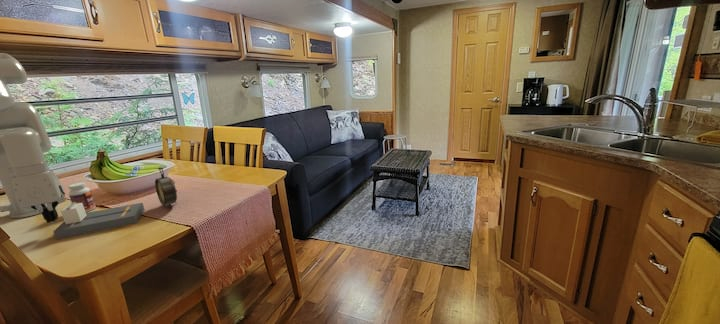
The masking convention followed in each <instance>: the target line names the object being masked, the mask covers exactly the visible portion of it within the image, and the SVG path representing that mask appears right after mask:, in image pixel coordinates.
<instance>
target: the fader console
mask: <svg viewBox="0 0 720 324" xmlns="http://www.w3.org/2000/svg"><path fill="white" fill-rule="evenodd" d="M144 212H145V206H144V203H143V202H139V203H134V204H133V203H132V204H129V205H128V204H126V205H123V206H122V205H121V206H117V207H111V208H107V209H106V208H105V209H100V210H95V211H88V212H86V215H87V216H86V217H85V218H84V219H83V220H82V221H81V222H76V223H71V224H66V223H65V221H63V222H62V223H61V224H59V226H58V227H56V229H54V230H53V231H52V232H53V234H54V236H55V239H56V240H61V239H66V238H70V237H76V236H81V235H86V234H90V233H95V232H101V231H105V230H110V229H115V228H120V227H124V226H125V227H126V226H129V225H130V226H131V225H136V224H138V222H139V220H140V218H141V217H142V215H143V213H144Z"/></svg>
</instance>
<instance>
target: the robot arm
mask: <svg viewBox="0 0 720 324" xmlns="http://www.w3.org/2000/svg"><path fill="white" fill-rule="evenodd" d="M27 75H28V74H27V72H26V70H25V68H24V66H23V65H22V64H21V62H20V61H19V60H17V59H16V58H15V57H13V56H12V55H10V53H6V52H0V183H1V186H2V188H3V191H4V193H5V195H6V197H7V199H8V202H9V204H8V205H7V204H5V205H0V213H6V212H9V214H8V216H9V218H11V219H22V218H27V217H31V216H35V215H38V214H41V215H42V217H43V220H45V221H46V224H49V223H53V222H55V221H56V220H58V218H59V213H58V211H57V209H56V208H57V207H58V205H60V204H62V203H65V202H67V200H68V198H67V197H66V192H65V189H64V188H63V187H64V186H63V184H62V183H61V181H60V179H59V178H58V175H56V173H55V172H54V170H53V169H50V167H49V165H48V163H47V160H46V157H45V155H44V154H45V153H48V152H49V151H51V150H52V142H51V139H50V137H49V134H48V132H47V131H46V128H45V125H44V123H43V121H42V119H41V116H40V115H39V112H38V110H37V109H36V107H35V106H34V105H33V104H31V103H29V102H25V101H23V102H21V101H20V102H19V101H18V102H15V99H14V98H13V95H12V94H11V91H9V88H8V85H19V84H20V85H21V84H25V83H26V82H27V80H28V76H27Z"/></svg>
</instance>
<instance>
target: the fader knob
mask: <svg viewBox="0 0 720 324" xmlns="http://www.w3.org/2000/svg"><path fill="white" fill-rule="evenodd" d="M60 213H61V216H62V217H63V220H64V221H65V223H66V224H71V223H76V222H81V221H82V220H83V219H84V218H85V217H86V216H87V215H86V213H87V212H85V209H84V206H83V204H82V203H77V204H76V202H73V203H72V202H71V204H67V205H66V206H65V207H64V208H63V209H61V210H60ZM64 221H63V222H64Z"/></svg>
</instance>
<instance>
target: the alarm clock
mask: <svg viewBox="0 0 720 324" xmlns="http://www.w3.org/2000/svg"><path fill="white" fill-rule="evenodd" d="M158 171H159V172H160V176H161V177H157V178H155V181H154V185H155V191H156V194H157V197H158V200H159V202H160V204H161V206H163V207H164V206H168V208H169V209H170V210H172V209H173V208H172V206H171V205H172V204H174V203H175V204H177V200H178V199H177V198H178V193H177V192H178V190H177V189H176V185H175V184H174V183H175V182H174V181H173V179H171V177H169V176H165V174H164V170H163V168H162V167H160V166H159V167H158Z"/></svg>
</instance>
